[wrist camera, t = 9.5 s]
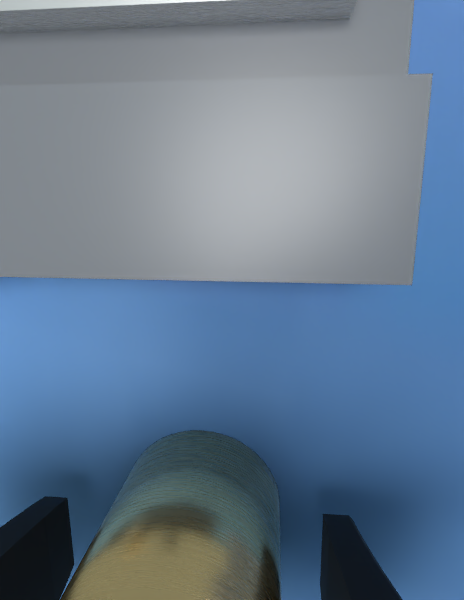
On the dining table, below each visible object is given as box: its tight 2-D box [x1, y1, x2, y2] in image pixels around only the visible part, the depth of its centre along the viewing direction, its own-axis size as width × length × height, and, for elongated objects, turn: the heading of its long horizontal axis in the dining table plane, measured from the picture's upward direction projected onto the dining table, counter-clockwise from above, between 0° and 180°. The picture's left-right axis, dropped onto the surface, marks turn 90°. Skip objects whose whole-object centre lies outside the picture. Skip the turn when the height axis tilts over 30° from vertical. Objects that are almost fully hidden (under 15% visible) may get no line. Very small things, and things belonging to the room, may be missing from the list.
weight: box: [60, 430, 281, 600], centre depth 9 cm, size 4×4×5 cm
